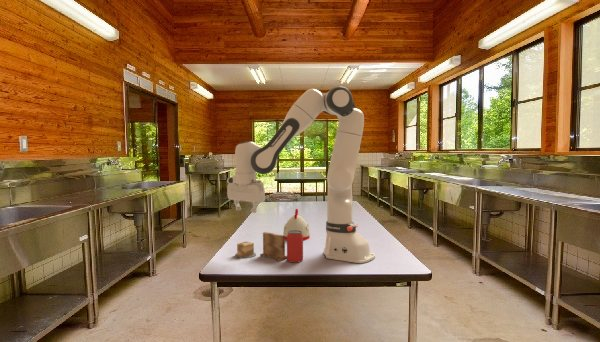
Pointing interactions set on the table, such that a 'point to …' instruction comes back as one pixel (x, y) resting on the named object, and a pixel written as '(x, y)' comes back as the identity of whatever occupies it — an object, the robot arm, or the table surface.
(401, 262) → the table surface
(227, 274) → the table surface
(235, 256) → the slate mat
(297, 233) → the beer can
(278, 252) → the screen
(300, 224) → the kitchen timer
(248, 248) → the letter cube
